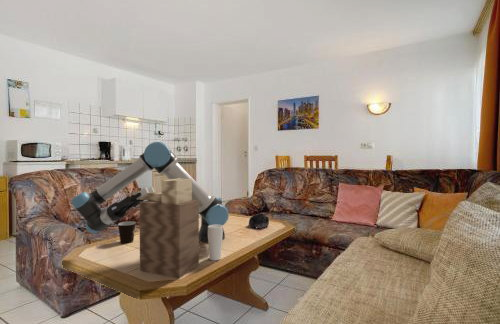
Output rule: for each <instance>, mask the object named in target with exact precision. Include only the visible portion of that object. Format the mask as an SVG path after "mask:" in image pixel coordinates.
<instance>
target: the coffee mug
mask: <svg viewBox="0 0 500 324" xmlns="http://www.w3.org/2000/svg"><path fill="white" fill-rule="evenodd" d="M117 226H118V234H119V235H118V236H119V241H120V243H121V244H122V245H123V244H124V245H125V244H126V245H127V244H131V243H133V242H134V238H135V229H136V222H135V221H122V222H119V223H118V225H117Z"/></svg>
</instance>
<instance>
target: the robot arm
mask: <svg viewBox="0 0 500 324" xmlns="http://www.w3.org/2000/svg"><path fill="white" fill-rule="evenodd" d="M152 170H155V171H156V172H157V173H158V174H159V175H165V177H167V178H168V180H170V179H178V178H179V179H192V200H199V216H200V217H201V218H200V222H201V223H200V224H201V225H200V227H199V242H200V241H202V242H204V243H205V242H207V243H208V226H209V225H214V224H218V225H222V226H224V225H225V224H227V222H228V220H229V217H230V216H229V215H230V214H229V210H228V208H227V207H226V206H225V205H223V199H222V198H221V197H216V196H214V195H210V194H209V193H208V192H207V191H206V190H205V189H204V188H203V187H202V186H201V185H200V184H199V183H198V182H197V181H196V180H195V179H194V178H193V177H192V176H191V175H190V174H189V173H188V171H186V170H185V169H184V167H183V166H182V165H180V163H179V162H178V157H177V156H176V155H175V154H174V153H173V152H172V150H170V148H169V147H168V145H167V144H166V143H163V142H161V141H153V142H151V143H149V144H148V145H147V146H146V147H145V148H144V151H143V153H142V154H140V155H139V156H138V159H137V160H135V161H134V162H132V163H131V164H130V165H128V166H127V167H125V168H124V169H123V170H121V171H119V172H118V173H117V174H115V175H114V176H113V177H111V178H110V179H109V180H107V181H106V182H104V183H103V184H102V185H100V186H99V187H97V188H96V189H94V190H93V191H92V192H90V193H88V192H86V191H82V192H81V193H79V194H77V195H76V196H74V197H73V198H72V199H71V200H70V203H71V205H72V206H73V207H74V209H75V210H76V211H77V212H78V213H79V214H80V215H81V216H82V218H84V220H85V221H86V222H85V225H84V227H85V229H86V231H87V232H88V233H89V234H98V233H100V232H102V231H104V230H105V229H107V228H108V227H110V226H111V225H115V223H116V222H117V221H120V220H121V219H123V218H124V217H125V216H126V213H127V212H128V211H129V210H130V209H132V208H136V207H137V206H139V205H140V202H143V201H145V200H140V198H142V197H143V196H145V195H146V194H148V193H149V192H155V189H154V187H153V186H149V187H148V188H147V187H143V188H142V189H140V190H139V192H137V193H136V194H135V195H133V194H132V195H128V196H126V197H125V198H123V199H121V200H120V201H118V202H117V201H116V202H114V203H112V204H110V205H109V206H107V207H106V208H104V209H103V210H102V209H101V208H100V206H101V205H103V203H105V202H107V200H109V199H110V198H112V197H113V196H114V195H116V194H117V193H119V192H120V191H121V190H123V189H125V188H126V187H127V186H128V185H130V184H131V183H133V182H134V181H135V180H137V179H138V178H140V177H141V176H142V175H144V174H145V173H147V172H148V171H152ZM225 238H226V233H225V230H224V229H223V237H222V241H223V240H225Z"/></svg>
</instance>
